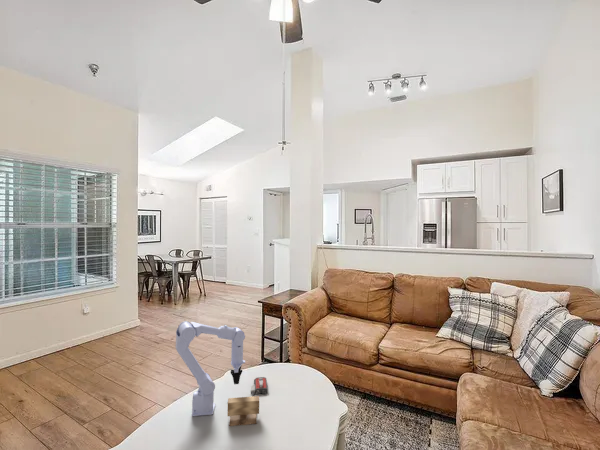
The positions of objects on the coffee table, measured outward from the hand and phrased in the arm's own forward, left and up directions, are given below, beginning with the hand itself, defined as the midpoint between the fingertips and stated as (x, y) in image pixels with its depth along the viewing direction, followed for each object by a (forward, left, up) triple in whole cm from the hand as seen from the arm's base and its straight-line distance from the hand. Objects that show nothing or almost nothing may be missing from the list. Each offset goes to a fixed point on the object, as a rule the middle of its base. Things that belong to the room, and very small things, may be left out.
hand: (236, 379), depth 146 cm
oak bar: (+4, -15, -7) cm, 17 cm away
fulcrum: (+4, -15, -10) cm, 18 cm away
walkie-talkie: (+11, +7, -11) cm, 17 cm away
